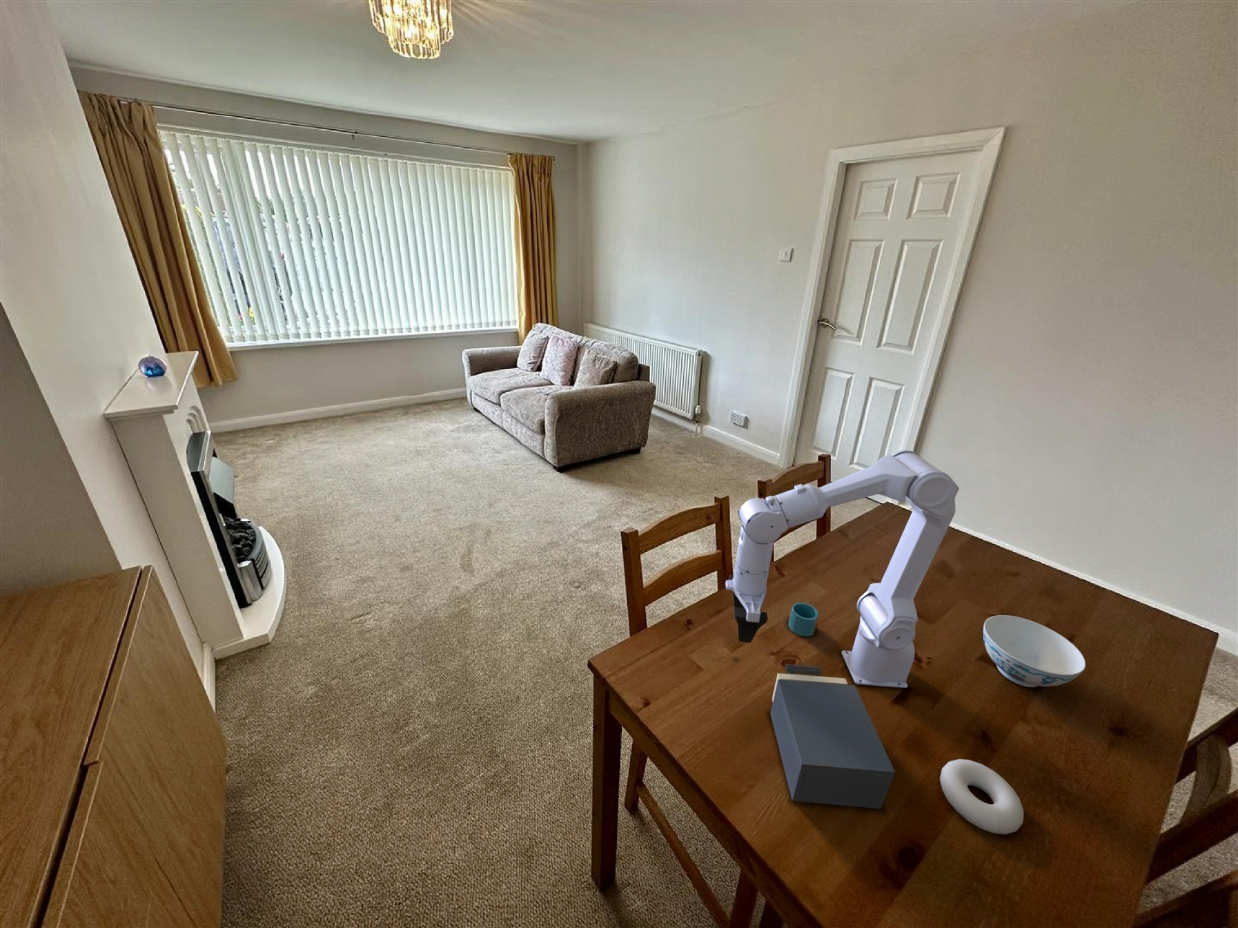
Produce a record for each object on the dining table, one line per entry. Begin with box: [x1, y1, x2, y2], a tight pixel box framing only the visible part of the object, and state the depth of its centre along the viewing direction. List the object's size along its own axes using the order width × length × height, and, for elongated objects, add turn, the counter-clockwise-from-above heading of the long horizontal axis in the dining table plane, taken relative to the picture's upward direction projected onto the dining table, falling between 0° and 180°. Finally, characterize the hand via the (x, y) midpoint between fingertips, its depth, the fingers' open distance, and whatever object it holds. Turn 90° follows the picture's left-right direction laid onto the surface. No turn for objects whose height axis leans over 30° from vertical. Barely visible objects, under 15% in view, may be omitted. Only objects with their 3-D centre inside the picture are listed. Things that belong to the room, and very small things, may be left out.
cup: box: [787, 602, 819, 637], centre depth 102 cm, size 5×5×4 cm
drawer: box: [771, 663, 849, 702], centre depth 79 cm, size 18×11×6 cm, turn 176°
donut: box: [939, 758, 1025, 835], centre depth 70 cm, size 10×4×10 cm
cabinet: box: [770, 680, 896, 810], centre depth 75 cm, size 15×13×8 cm
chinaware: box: [982, 614, 1087, 688], centre depth 92 cm, size 15×15×8 cm
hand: (742, 625), depth 89 cm, fingers open, 7 cm apart
